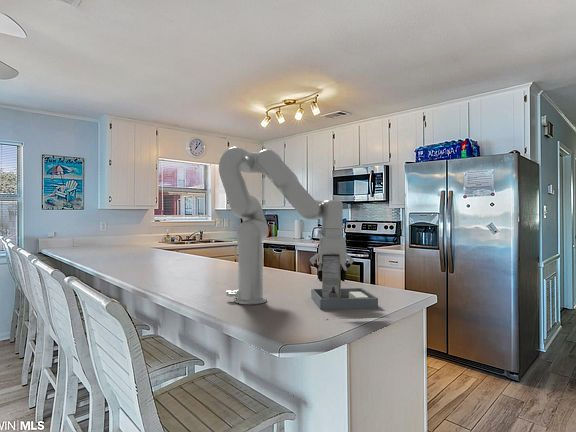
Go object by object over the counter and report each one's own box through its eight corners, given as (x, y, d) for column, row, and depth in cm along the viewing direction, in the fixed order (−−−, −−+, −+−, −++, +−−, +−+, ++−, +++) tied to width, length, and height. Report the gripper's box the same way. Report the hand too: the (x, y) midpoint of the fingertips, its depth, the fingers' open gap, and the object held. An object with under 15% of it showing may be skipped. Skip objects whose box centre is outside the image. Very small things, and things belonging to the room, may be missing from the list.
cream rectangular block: (356, 305, 131) (356, 297, 131) (348, 299, 141) (348, 291, 141) (368, 305, 131) (368, 297, 131) (360, 299, 141) (360, 291, 141)
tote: (320, 312, 125) (320, 299, 125) (311, 300, 143) (311, 288, 143) (378, 311, 127) (378, 298, 127) (361, 299, 146) (361, 288, 146)
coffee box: (324, 293, 140) (324, 252, 140) (341, 294, 139) (341, 252, 139) (321, 299, 131) (322, 254, 131) (339, 299, 130) (340, 254, 130)
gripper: (310, 233, 130) (310, 283, 130) (358, 234, 132) (357, 282, 132) (307, 232, 138) (306, 279, 138) (352, 233, 140) (351, 279, 140)
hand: (331, 280), depth 135 cm, fingers closed on coffee box, 7 cm apart
